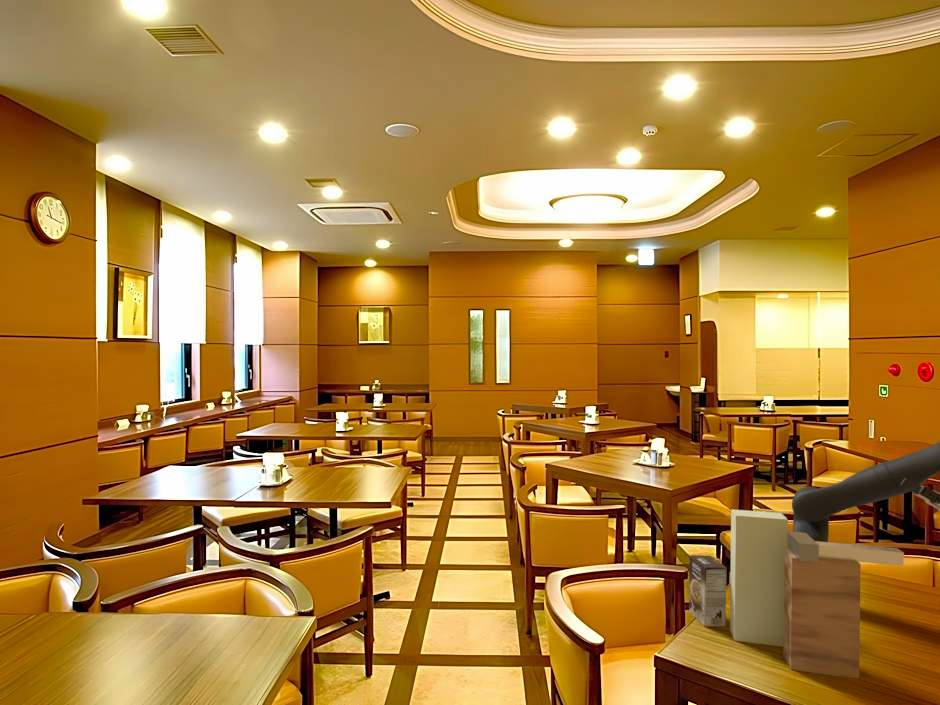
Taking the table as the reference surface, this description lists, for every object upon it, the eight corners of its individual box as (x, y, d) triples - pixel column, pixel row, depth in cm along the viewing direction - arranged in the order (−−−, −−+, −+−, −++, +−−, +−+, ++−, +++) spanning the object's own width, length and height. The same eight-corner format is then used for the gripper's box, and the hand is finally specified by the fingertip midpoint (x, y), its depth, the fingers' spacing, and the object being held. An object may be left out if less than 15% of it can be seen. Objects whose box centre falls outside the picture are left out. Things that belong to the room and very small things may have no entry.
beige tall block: (729, 629, 151) (731, 509, 151) (779, 635, 148) (781, 513, 148) (734, 640, 145) (735, 515, 145) (786, 647, 142) (787, 519, 142)
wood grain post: (783, 656, 138) (784, 549, 138) (848, 664, 134) (849, 555, 134) (790, 669, 132) (792, 557, 132) (859, 678, 129) (860, 564, 129)
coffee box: (687, 611, 161) (688, 554, 161) (709, 611, 162) (710, 554, 162) (703, 627, 152) (704, 567, 152) (726, 626, 153) (727, 566, 153)
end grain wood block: (787, 547, 139) (787, 531, 139) (890, 556, 134) (891, 539, 134) (799, 560, 130) (799, 543, 130) (910, 570, 125) (910, 552, 125)
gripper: (973, 503, 136) (906, 466, 140) (1014, 520, 122) (938, 478, 126) (954, 529, 137) (888, 491, 140) (992, 549, 123) (918, 506, 127)
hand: (911, 485), depth 133 cm, fingers open, 8 cm apart
